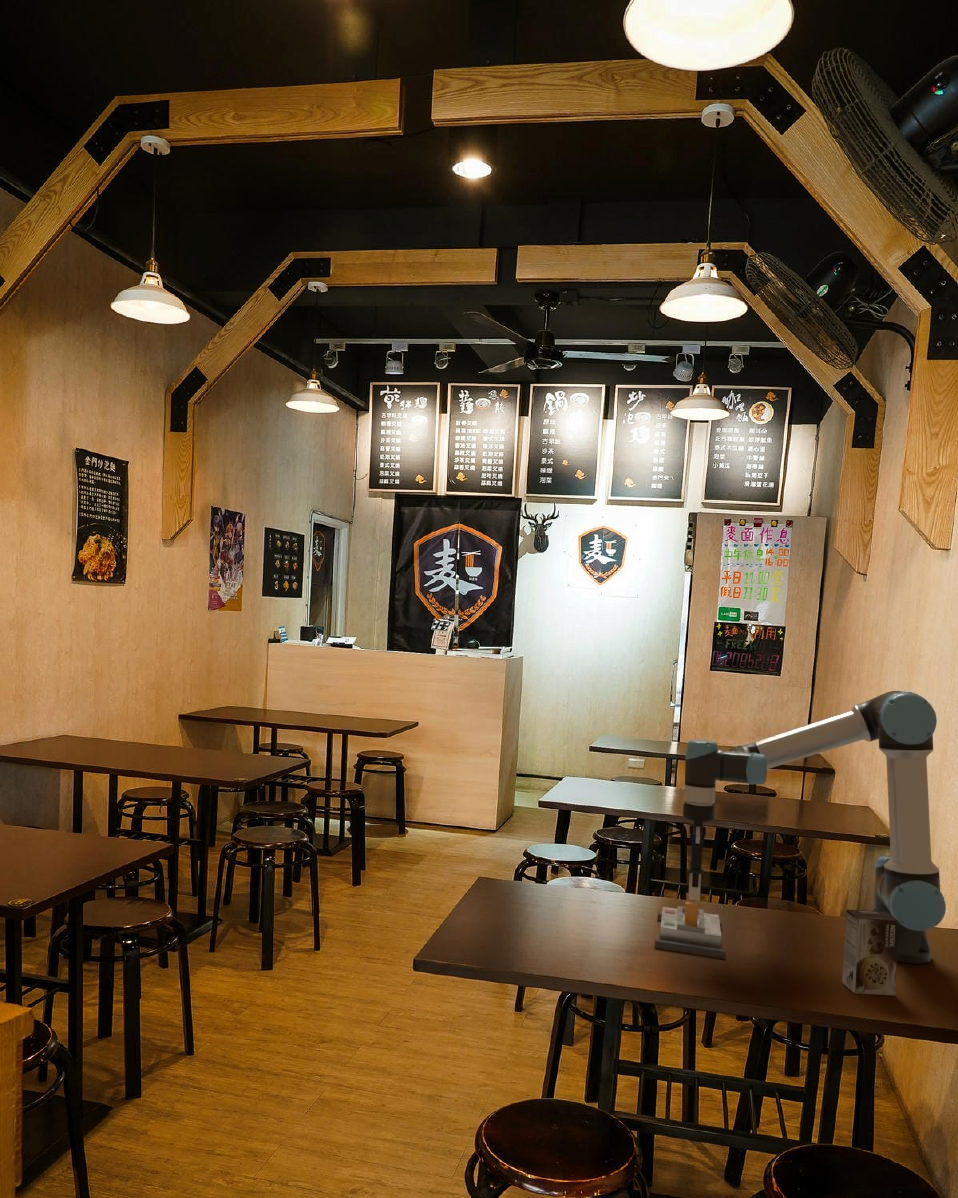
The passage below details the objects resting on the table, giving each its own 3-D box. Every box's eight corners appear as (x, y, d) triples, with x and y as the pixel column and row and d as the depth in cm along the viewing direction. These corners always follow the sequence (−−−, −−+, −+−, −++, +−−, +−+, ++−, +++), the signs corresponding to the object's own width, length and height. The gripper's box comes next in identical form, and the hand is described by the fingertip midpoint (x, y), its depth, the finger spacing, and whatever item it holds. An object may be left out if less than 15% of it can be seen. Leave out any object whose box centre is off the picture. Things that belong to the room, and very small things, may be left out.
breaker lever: (697, 924, 216) (698, 903, 216) (697, 926, 214) (698, 905, 214) (684, 922, 217) (685, 901, 217) (684, 924, 215) (685, 903, 215)
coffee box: (881, 985, 197) (885, 911, 198) (896, 997, 191) (900, 920, 191) (840, 982, 197) (845, 908, 197) (854, 994, 190) (859, 917, 191)
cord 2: (724, 956, 207) (725, 949, 207) (725, 959, 206) (725, 952, 206) (654, 945, 211) (655, 939, 211) (654, 948, 209) (655, 941, 209)
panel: (717, 931, 226) (718, 911, 227) (720, 953, 209) (721, 932, 209) (661, 922, 230) (662, 903, 230) (659, 944, 212) (660, 923, 212)
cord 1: (721, 928, 229) (721, 922, 229) (721, 930, 227) (721, 923, 227) (657, 919, 233) (658, 912, 233) (657, 920, 231) (657, 914, 231)
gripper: (683, 797, 229) (678, 891, 228) (683, 805, 216) (678, 904, 215) (713, 800, 227) (709, 894, 226) (715, 808, 215) (710, 908, 213)
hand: (694, 899), depth 221 cm, fingers closed
